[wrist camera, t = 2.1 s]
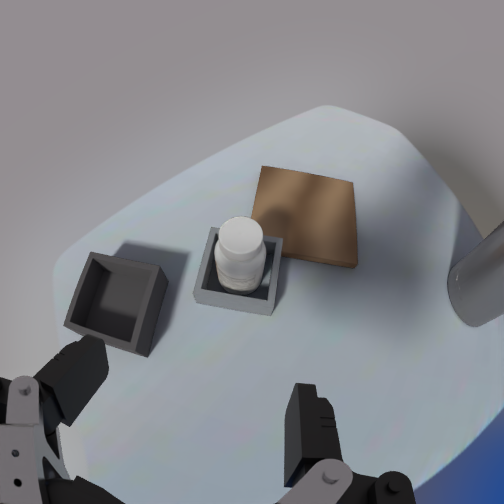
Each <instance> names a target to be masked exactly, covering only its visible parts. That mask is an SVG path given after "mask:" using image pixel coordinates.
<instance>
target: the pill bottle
mask: <svg viewBox="0 0 504 504" xmlns="http://www.w3.org/2000/svg"><path fill="white" fill-rule="evenodd" d="M214 254H215V262H216V268H217V274H218V279H219V282H220V284H221V286H222V287H223V288H224V289H225V290H226V291H227V292H229V293H231V294H234V295H247V294H250V293H252V292H253V291H255V290H256V289H257V288H258V286H259V285H260V283H261V280H262V275H263V270H264V264H265V259H266V247H265V244H264V242H263V231H262V228H261V226H260V225H259V224H258V223H257V222H256V221H255V220H253V219H251V218H248V217H243V216H239V217H234V218H231V219H229V220H227V221H226V222H225V223H224V224H223V225H222V226H221V228H220V230H219V240H218V241H217V243H216V246H215V251H214Z"/></svg>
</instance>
